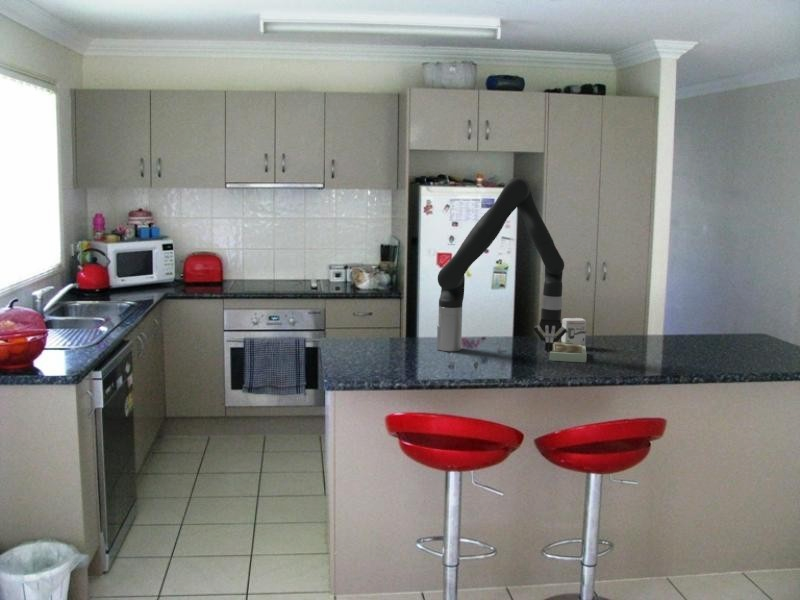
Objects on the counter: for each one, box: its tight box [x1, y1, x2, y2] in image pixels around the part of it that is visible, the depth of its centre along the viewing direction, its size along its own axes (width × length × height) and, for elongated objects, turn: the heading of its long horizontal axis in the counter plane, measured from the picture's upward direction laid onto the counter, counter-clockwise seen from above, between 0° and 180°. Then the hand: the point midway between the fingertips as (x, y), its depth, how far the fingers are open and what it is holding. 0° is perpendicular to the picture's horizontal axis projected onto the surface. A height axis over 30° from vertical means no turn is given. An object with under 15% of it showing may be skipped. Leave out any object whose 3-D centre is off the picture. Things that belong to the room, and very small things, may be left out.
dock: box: [549, 343, 588, 363], centre depth 326 cm, size 14×16×3 cm
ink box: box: [560, 317, 587, 347], centre depth 342 cm, size 9×5×12 cm, turn 100°
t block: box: [553, 341, 582, 354], centre depth 326 cm, size 10×10×4 cm
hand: (548, 351), depth 327 cm, fingers closed
